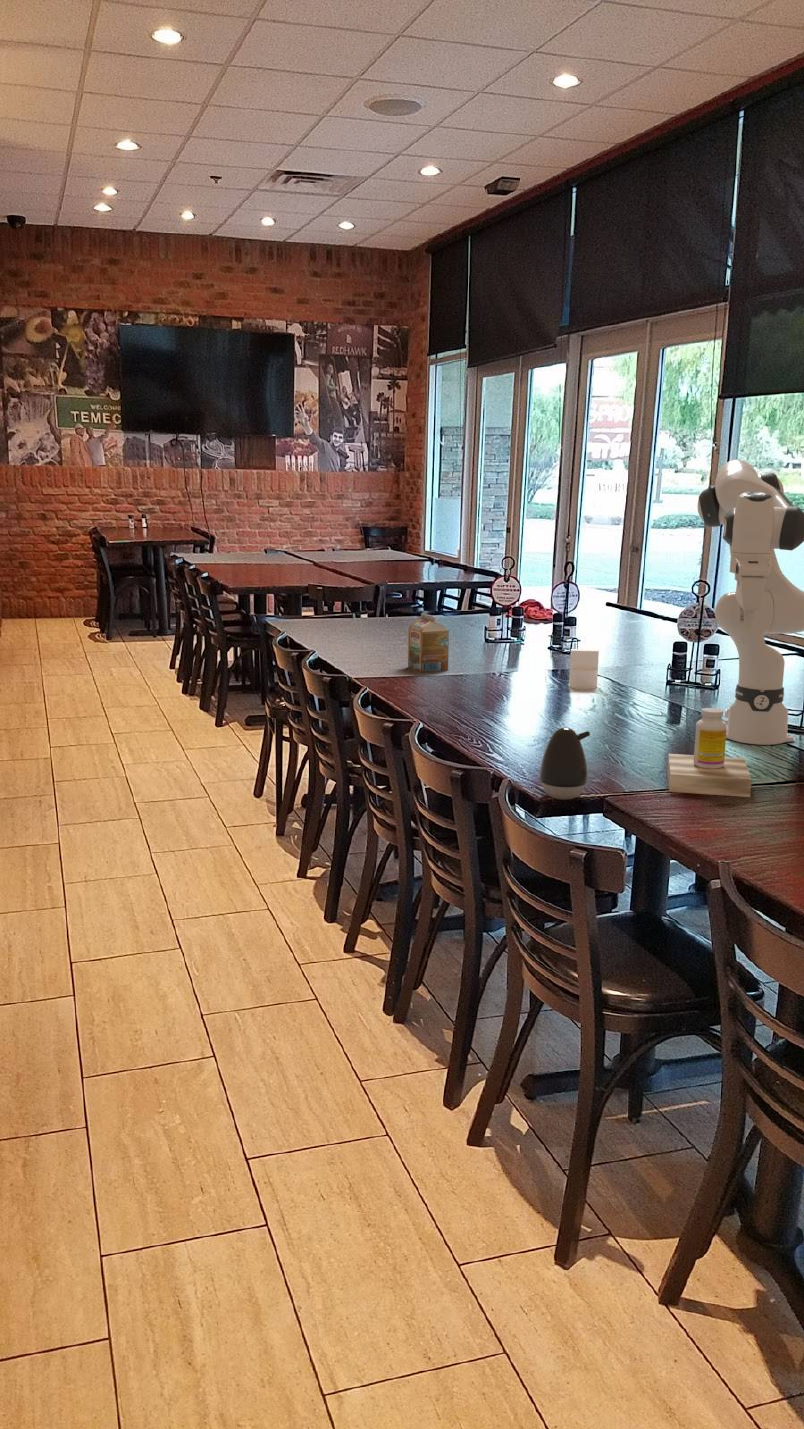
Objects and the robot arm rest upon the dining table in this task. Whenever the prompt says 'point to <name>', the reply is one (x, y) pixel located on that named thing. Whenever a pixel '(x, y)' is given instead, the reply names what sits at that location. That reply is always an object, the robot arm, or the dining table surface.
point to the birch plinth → (708, 777)
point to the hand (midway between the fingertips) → (745, 625)
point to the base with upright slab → (583, 668)
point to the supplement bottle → (710, 739)
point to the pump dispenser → (564, 765)
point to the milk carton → (428, 645)
